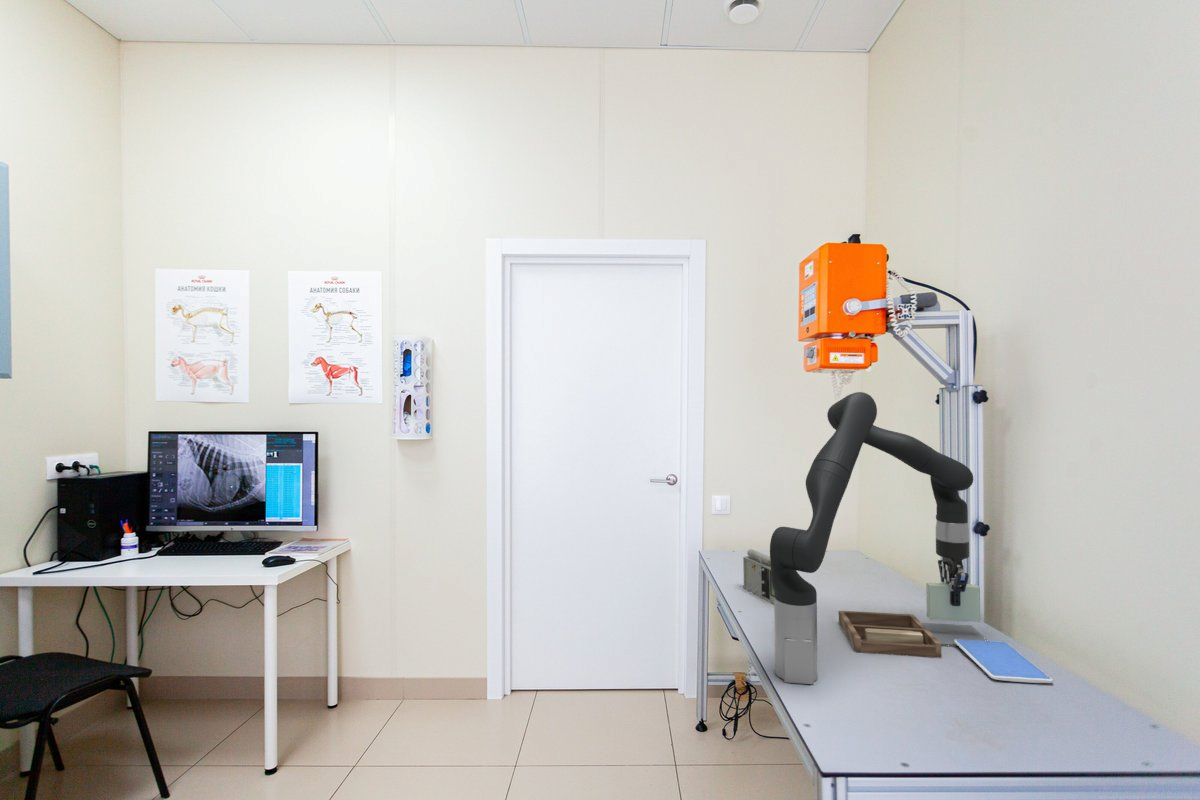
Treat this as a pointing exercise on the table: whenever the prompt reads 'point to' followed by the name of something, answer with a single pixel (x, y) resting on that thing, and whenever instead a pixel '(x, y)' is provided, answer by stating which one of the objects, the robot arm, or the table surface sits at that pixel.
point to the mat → (953, 633)
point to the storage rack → (860, 621)
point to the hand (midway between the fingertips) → (952, 603)
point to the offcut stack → (893, 636)
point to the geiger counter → (758, 575)
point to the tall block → (945, 611)
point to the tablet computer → (1002, 661)
